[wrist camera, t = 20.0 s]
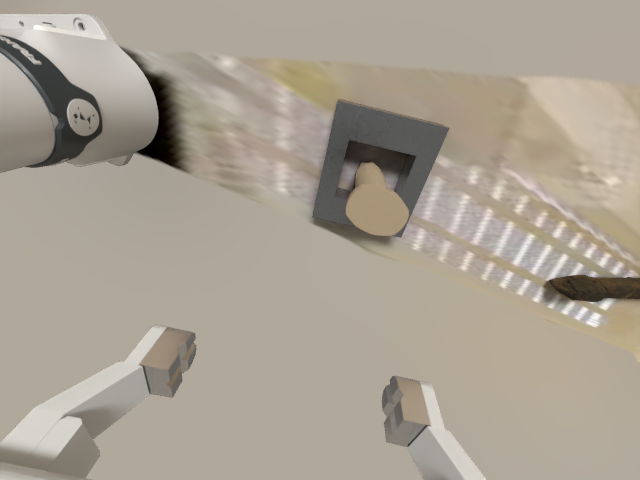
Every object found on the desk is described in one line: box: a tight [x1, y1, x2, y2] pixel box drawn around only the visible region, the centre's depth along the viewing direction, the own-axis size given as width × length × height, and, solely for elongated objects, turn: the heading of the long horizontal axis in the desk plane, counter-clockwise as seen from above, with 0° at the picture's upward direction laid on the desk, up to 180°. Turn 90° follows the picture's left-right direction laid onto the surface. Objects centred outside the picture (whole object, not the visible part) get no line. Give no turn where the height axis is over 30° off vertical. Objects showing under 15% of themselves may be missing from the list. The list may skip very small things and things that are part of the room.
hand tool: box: [549, 275, 640, 302], centre depth 43 cm, size 19×4×5 cm, turn 90°
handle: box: [346, 161, 409, 236], centre depth 33 cm, size 5×6×15 cm
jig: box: [312, 99, 449, 237], centre depth 37 cm, size 14×16×4 cm
